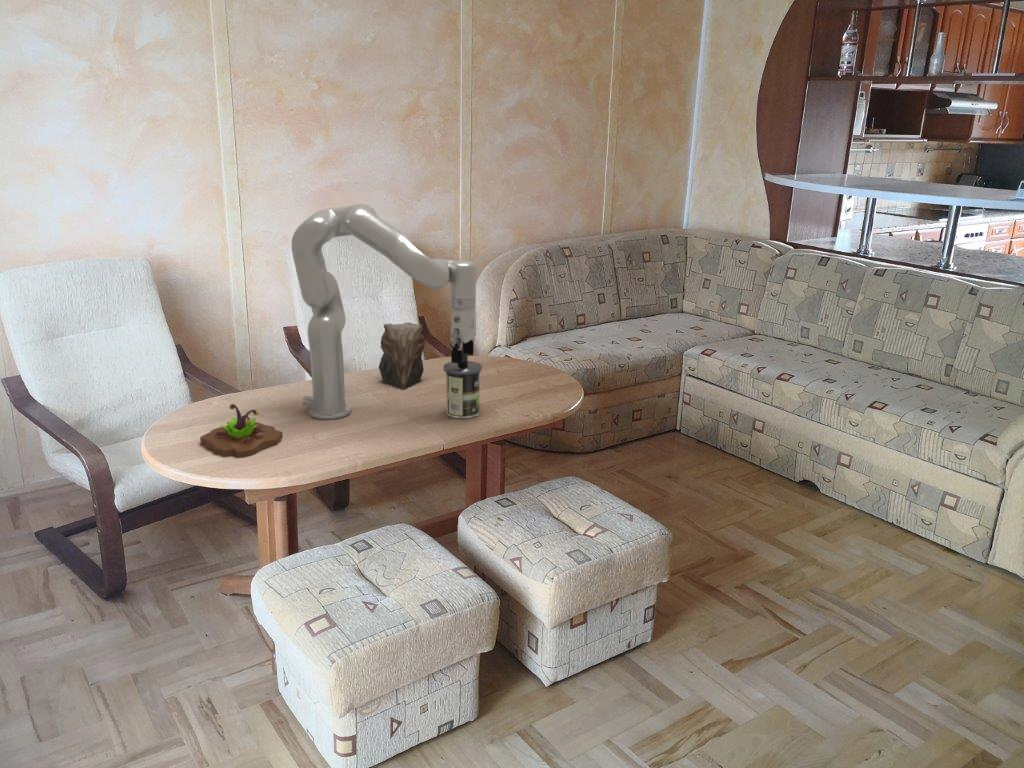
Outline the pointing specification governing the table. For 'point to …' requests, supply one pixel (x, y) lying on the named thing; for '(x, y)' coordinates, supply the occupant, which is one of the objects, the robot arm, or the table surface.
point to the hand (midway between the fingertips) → (462, 358)
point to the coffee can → (462, 395)
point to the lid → (463, 367)
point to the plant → (241, 436)
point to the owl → (402, 354)
